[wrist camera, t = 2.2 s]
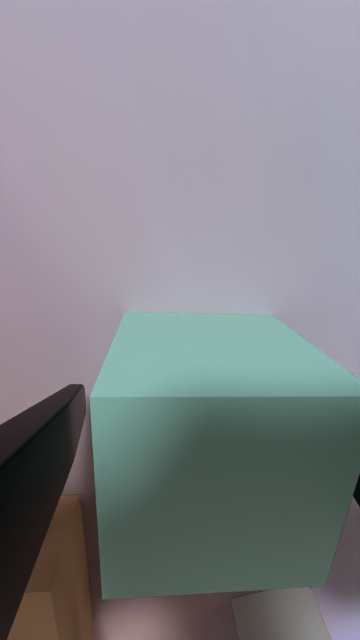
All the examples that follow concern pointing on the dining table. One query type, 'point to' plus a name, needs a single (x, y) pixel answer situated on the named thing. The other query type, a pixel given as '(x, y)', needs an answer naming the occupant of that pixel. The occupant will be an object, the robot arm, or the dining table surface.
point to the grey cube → (279, 616)
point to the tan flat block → (58, 582)
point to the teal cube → (220, 456)
